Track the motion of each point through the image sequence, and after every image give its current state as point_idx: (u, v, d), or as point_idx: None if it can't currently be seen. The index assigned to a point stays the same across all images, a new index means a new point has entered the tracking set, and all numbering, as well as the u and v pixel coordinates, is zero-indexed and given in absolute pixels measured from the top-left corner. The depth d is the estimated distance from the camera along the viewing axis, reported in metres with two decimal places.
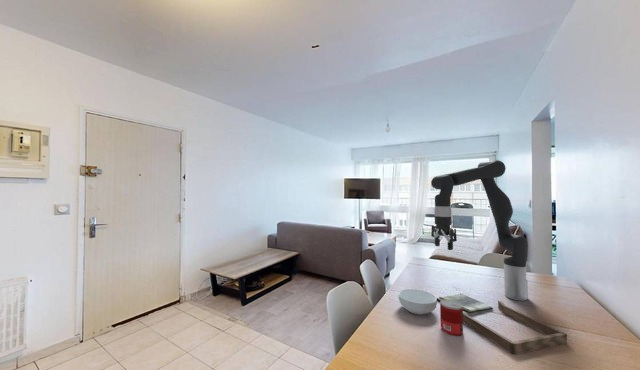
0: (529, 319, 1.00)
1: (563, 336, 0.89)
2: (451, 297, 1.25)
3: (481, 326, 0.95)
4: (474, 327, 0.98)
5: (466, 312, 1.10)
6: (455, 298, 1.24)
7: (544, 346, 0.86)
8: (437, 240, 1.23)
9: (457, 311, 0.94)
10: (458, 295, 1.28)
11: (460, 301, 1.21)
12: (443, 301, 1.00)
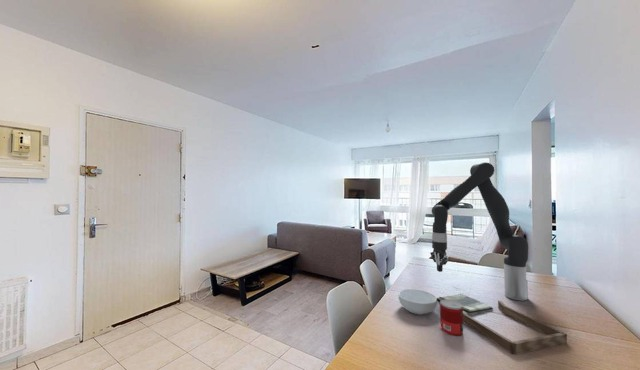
0: (529, 319, 1.00)
1: (563, 336, 0.89)
2: (451, 297, 1.25)
3: (481, 326, 0.95)
4: (474, 327, 0.98)
5: (466, 312, 1.10)
6: (455, 298, 1.24)
7: (544, 346, 0.86)
8: None
9: (457, 311, 0.94)
10: (458, 295, 1.28)
11: (460, 301, 1.21)
12: (443, 301, 1.00)
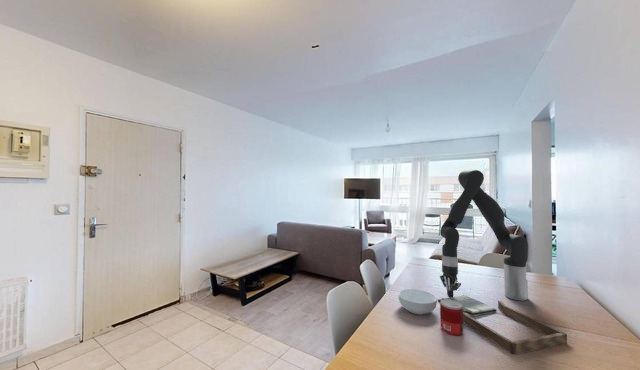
0: (529, 319, 1.00)
1: (563, 336, 0.89)
2: (454, 298, 1.23)
3: (481, 326, 0.95)
4: (474, 327, 0.98)
5: (469, 314, 1.09)
6: (458, 299, 1.22)
7: (544, 346, 0.86)
8: None
9: (457, 311, 0.94)
10: (461, 296, 1.26)
11: (463, 302, 1.19)
12: (443, 301, 1.00)
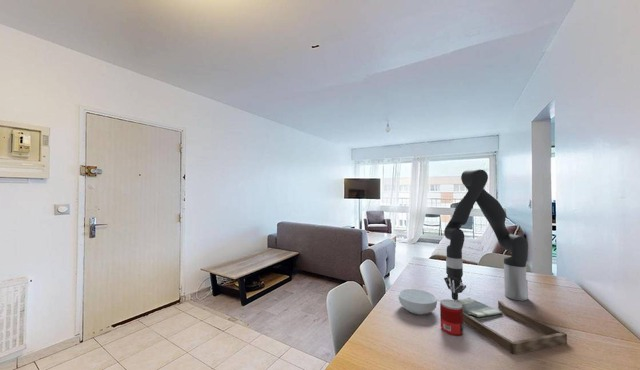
0: (529, 319, 1.00)
1: (563, 336, 0.89)
2: (458, 301, 1.20)
3: (481, 326, 0.95)
4: (474, 327, 0.98)
5: (474, 317, 1.06)
6: (463, 302, 1.19)
7: (544, 346, 0.86)
8: None
9: (457, 311, 0.94)
10: (466, 299, 1.23)
11: (468, 305, 1.16)
12: (443, 301, 1.00)
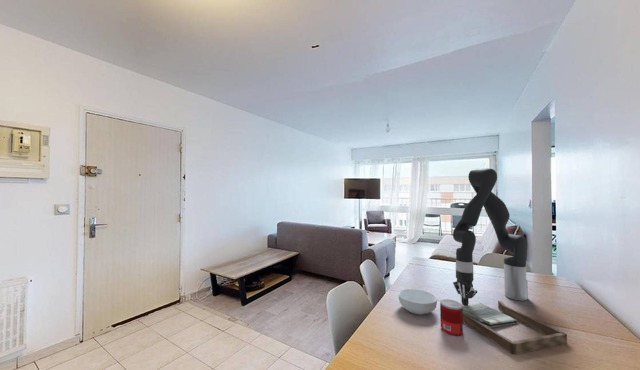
0: (529, 319, 1.00)
1: (563, 336, 0.89)
2: (469, 307, 1.14)
3: (481, 326, 0.95)
4: (474, 327, 0.98)
5: (486, 325, 1.00)
6: (474, 308, 1.13)
7: (544, 346, 0.86)
8: None
9: (457, 311, 0.94)
10: (477, 305, 1.16)
11: (479, 312, 1.10)
12: (443, 301, 1.00)
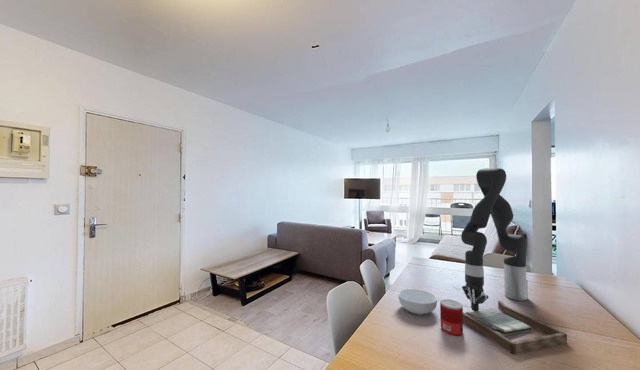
0: (529, 319, 1.00)
1: (563, 336, 0.89)
2: (480, 313, 1.09)
3: (481, 326, 0.95)
4: (474, 327, 0.98)
5: (500, 333, 0.94)
6: (485, 314, 1.07)
7: (544, 346, 0.86)
8: None
9: (457, 311, 0.94)
10: (488, 310, 1.11)
11: (492, 318, 1.04)
12: (443, 301, 1.00)
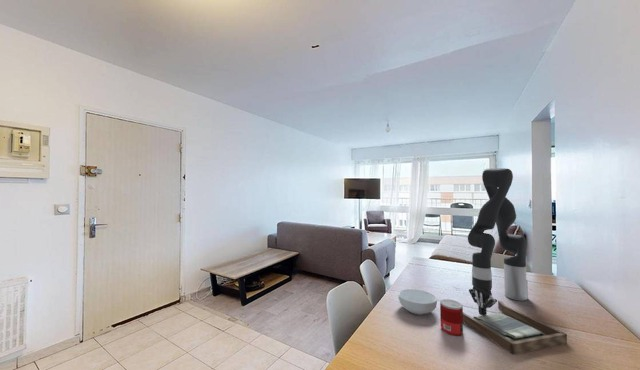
0: (529, 319, 1.00)
1: (563, 336, 0.89)
2: (488, 317, 1.05)
3: (481, 326, 0.95)
4: (474, 327, 0.98)
5: (511, 339, 0.90)
6: (494, 319, 1.04)
7: (544, 346, 0.86)
8: None
9: (457, 311, 0.94)
10: (497, 315, 1.07)
11: (500, 323, 1.00)
12: (443, 301, 1.00)
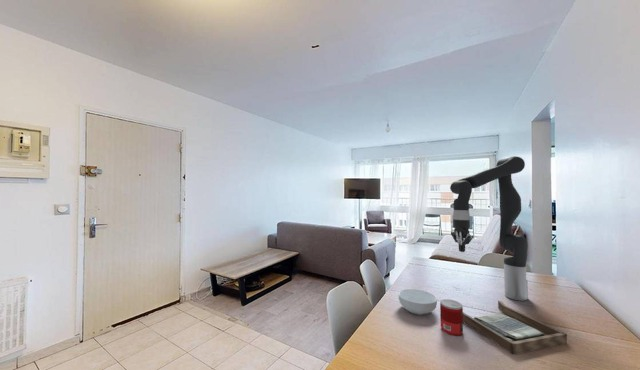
0: (529, 319, 1.00)
1: (563, 336, 0.89)
2: (489, 318, 1.04)
3: (481, 326, 0.95)
4: (474, 327, 0.98)
5: (511, 339, 0.90)
6: (494, 319, 1.03)
7: (544, 346, 0.86)
8: None
9: (457, 311, 0.94)
10: (497, 315, 1.07)
11: (501, 324, 1.00)
12: (443, 301, 1.00)
